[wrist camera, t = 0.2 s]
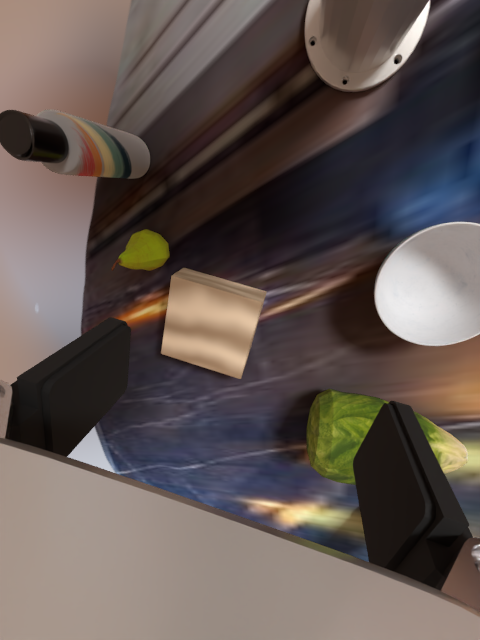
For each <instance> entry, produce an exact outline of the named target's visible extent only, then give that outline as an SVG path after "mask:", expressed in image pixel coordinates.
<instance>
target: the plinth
mask: <svg viewBox="0 0 480 640" xmlns="http://www.w3.org/2000/svg"><path fill="white" fill-rule="evenodd" d="M265 296H266V291H263V290H259V289H256V288H252V287H249V286H246V285H242V284H239V283H235V282H232V281H228V280H225V279H222V278H218V277H215V276H211V275H208V274H204V273H201V272H197V271H194V270H191V269H187V268H182V269H181V270H179V271H178V272H176V273H175V274H173V275H172V276H171V283H170V291H169V298H168V305H167V313H166V320H165V328H164V335H163V343H162V350H161V354H163V355H167V356H170V357H173V358H176V359H179V360H182V361H185V362H189V363H192V364H195V365H198V366H201V367H204V368H207V369H210V370H214V371H217V372H220V373H223V374H226V375H229V376H232V377H236V378H239V379H241V376H242V374H243V371H244V368H245V365H246V362H247V358H248V355H249V351H250V348H251V344H252V341H253V337H254V334H255V330H256V327H257V324H258V320H259V317H260V313H261V310H262V306H263V303H264V299H265Z"/></svg>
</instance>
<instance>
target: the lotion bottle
mask: <svg viewBox="0 0 480 640" xmlns="http://www.w3.org/2000/svg"><path fill="white" fill-rule="evenodd" d="M0 143H1V145H2V146H3V147H4V149H5V150H6V151H7V152H8V153H10V154H11V155H12V156H13V157H15V158H17V159H19V160H24V161H33V162H41V163H42V164H43V165H44V166H45V167H47V168H48V169H49V170H51V171H53V172H55V173H58V174H65V175H79V176H95V177H111V178H129V179H135V178H139V177H142V176H143V175H144V174H145V173H146V172H147V171H148V169H149V166H150V153H149V150H148V148H147V146H146V144H145V143H144V142H143V141H142V140H141V139H140V138H139V137H137V136H135V135H133V134H130V133H127V132H124V131H121V130H118V129H114V128H111V127H108V126H105V125H102V124H98V123H96V122H92V121H89V120H86V119H83V118H80V117H77V116H73V115H70V114H67V113H64V112H60V111H57V110H44V111H42V112H40V113H39V114H38V115H37V116H34V115H30V114H27V113H23V112H20V111H16V110H7V111H4V112H2V113H1V114H0Z"/></svg>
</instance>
